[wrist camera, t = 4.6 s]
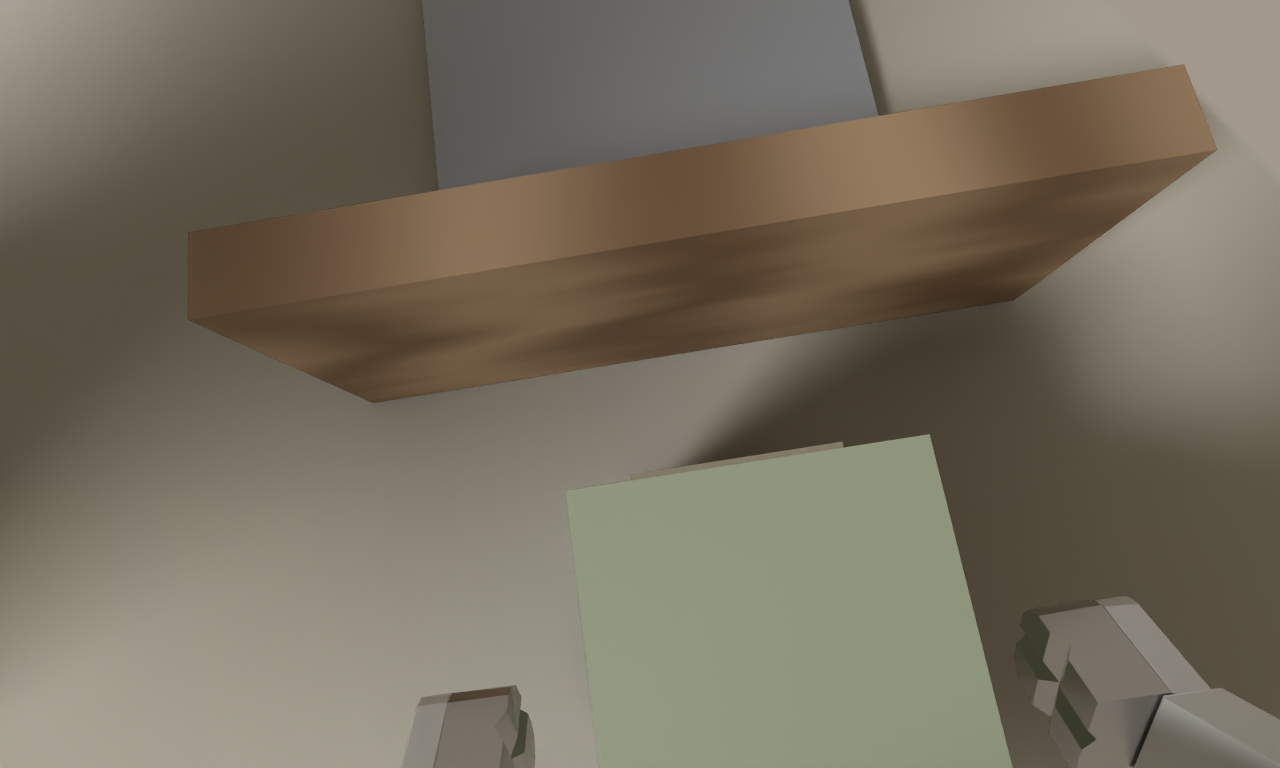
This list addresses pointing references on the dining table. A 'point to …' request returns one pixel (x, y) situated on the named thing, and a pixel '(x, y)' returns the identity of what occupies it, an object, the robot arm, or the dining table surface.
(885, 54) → the dining table surface
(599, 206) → the walnut screen
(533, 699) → the dining table surface
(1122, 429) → the dining table surface
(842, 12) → the display mat
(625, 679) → the olive letter block
